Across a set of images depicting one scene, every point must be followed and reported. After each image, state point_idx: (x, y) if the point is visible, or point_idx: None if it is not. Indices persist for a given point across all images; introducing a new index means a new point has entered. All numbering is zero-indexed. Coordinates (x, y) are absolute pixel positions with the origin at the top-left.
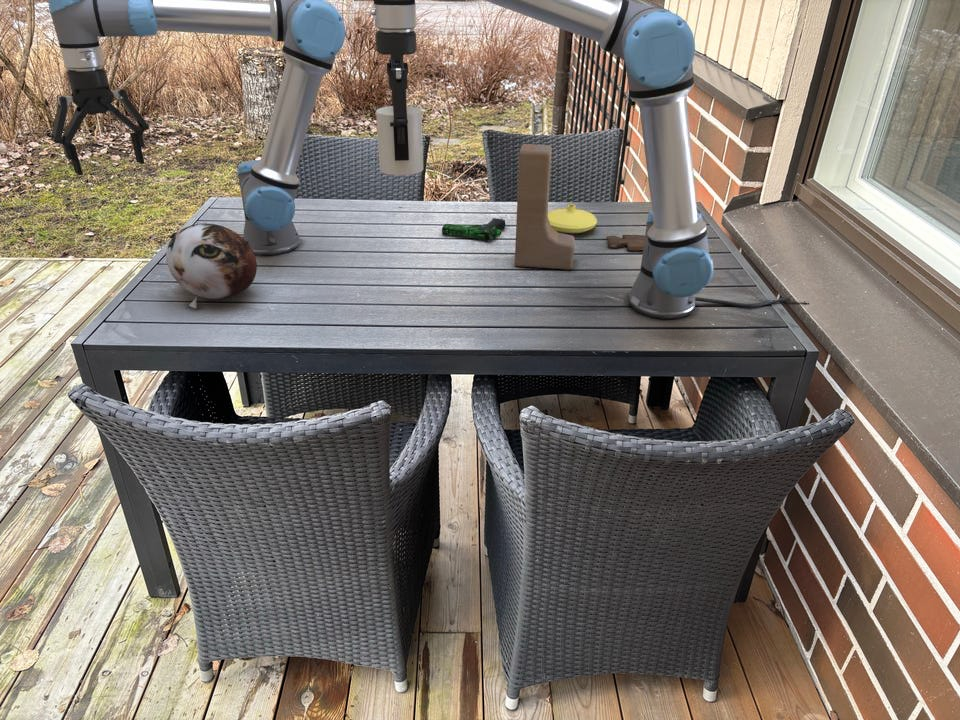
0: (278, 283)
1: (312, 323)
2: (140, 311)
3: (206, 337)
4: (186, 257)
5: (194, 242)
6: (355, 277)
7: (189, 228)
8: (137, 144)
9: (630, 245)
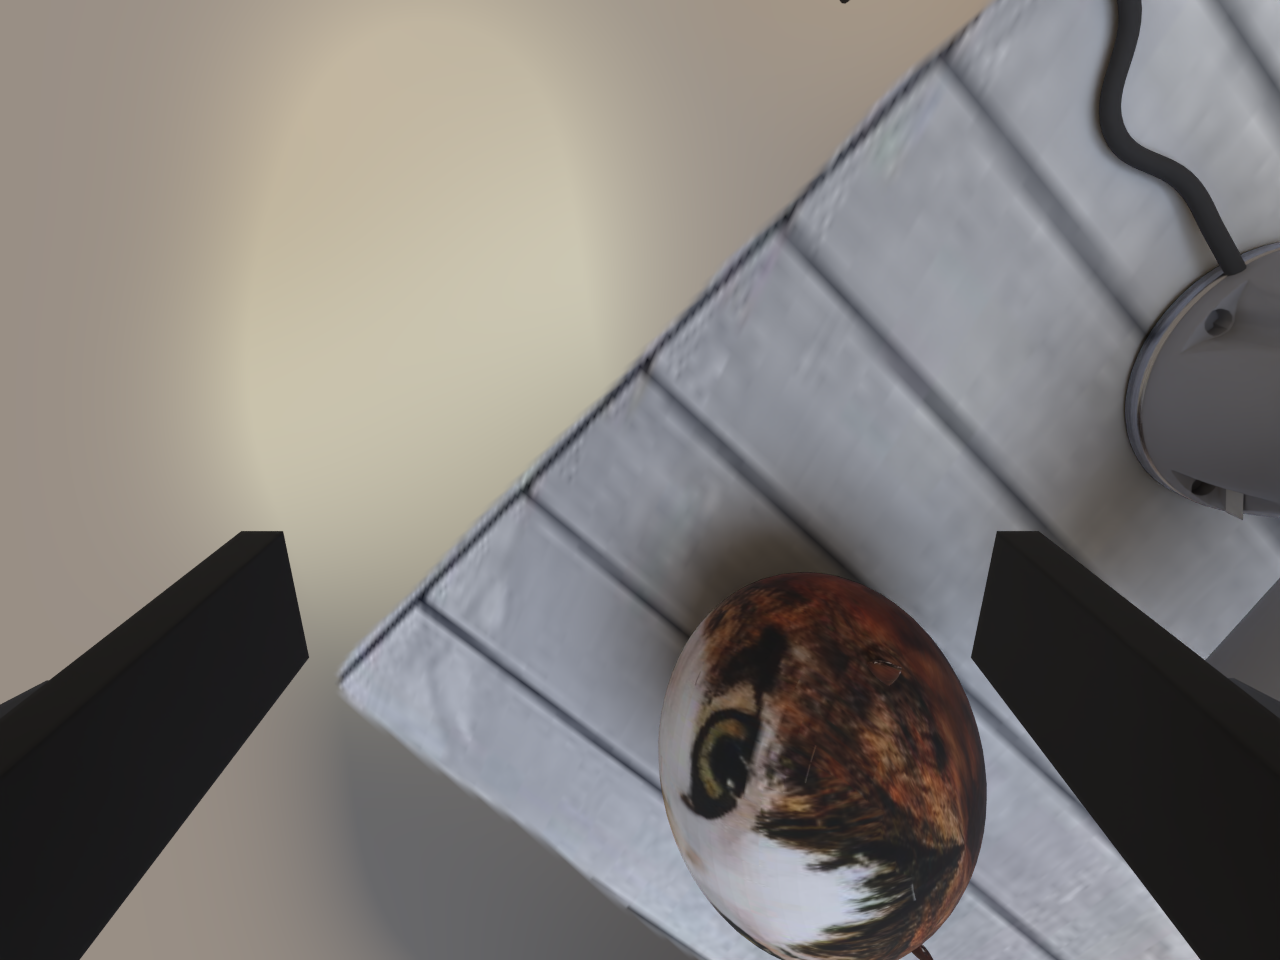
0: (982, 704)
1: None
2: (538, 606)
3: (619, 848)
4: (694, 877)
5: (749, 926)
6: None
7: (800, 867)
8: (1131, 860)
9: None
